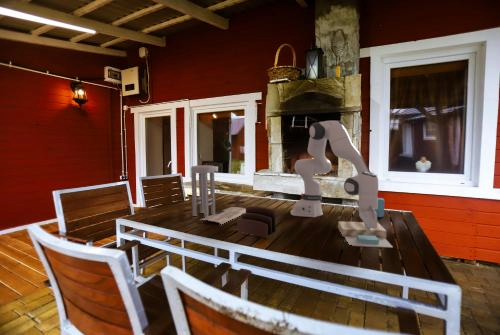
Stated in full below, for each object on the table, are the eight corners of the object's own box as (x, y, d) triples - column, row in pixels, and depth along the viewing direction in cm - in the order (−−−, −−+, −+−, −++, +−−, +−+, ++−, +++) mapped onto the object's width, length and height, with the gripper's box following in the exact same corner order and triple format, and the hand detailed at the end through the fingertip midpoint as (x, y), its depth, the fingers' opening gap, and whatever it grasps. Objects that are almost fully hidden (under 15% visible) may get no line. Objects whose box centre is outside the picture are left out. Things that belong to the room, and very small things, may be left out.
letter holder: (246, 227, 161) (246, 204, 160) (276, 233, 151) (275, 209, 149) (237, 232, 153) (236, 208, 152) (267, 239, 142) (267, 213, 141)
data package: (383, 215, 182) (384, 198, 181) (383, 217, 178) (384, 199, 177) (364, 213, 187) (365, 196, 186) (364, 215, 183) (364, 198, 182)
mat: (349, 245, 131) (349, 244, 131) (344, 237, 143) (344, 236, 143) (392, 247, 128) (392, 246, 128) (384, 238, 140) (384, 238, 140)
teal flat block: (356, 235, 139) (356, 238, 139) (359, 239, 133) (359, 243, 133) (375, 235, 137) (375, 239, 138) (379, 240, 131) (378, 244, 132)
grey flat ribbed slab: (229, 209, 206) (229, 206, 206) (252, 212, 197) (252, 209, 196) (198, 222, 174) (198, 218, 174) (223, 227, 165) (223, 222, 164)
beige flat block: (342, 236, 144) (342, 229, 144) (338, 227, 158) (338, 221, 158) (386, 238, 140) (386, 230, 140) (378, 229, 154) (378, 222, 154)
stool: (188, 217, 184) (186, 167, 181) (200, 212, 198) (199, 165, 195) (208, 219, 178) (206, 167, 175) (219, 213, 193) (217, 165, 189)
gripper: (381, 209, 124) (380, 238, 125) (369, 200, 144) (368, 225, 145) (366, 209, 125) (366, 238, 126) (356, 200, 145) (356, 224, 146)
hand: (367, 231), depth 136 cm, fingers closed
